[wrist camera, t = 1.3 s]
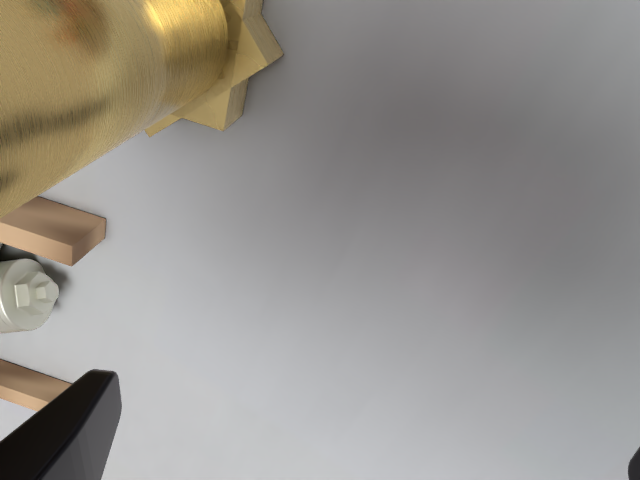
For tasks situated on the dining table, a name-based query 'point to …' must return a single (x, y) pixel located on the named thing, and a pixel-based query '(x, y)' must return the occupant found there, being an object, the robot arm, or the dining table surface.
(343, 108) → the dining table surface
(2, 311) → the pipe fitting
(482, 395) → the dining table surface
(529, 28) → the dining table surface
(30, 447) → the robot arm
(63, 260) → the u-shaped wooden frame
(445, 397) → the dining table surface
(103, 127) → the red-topped star-based cylinder
